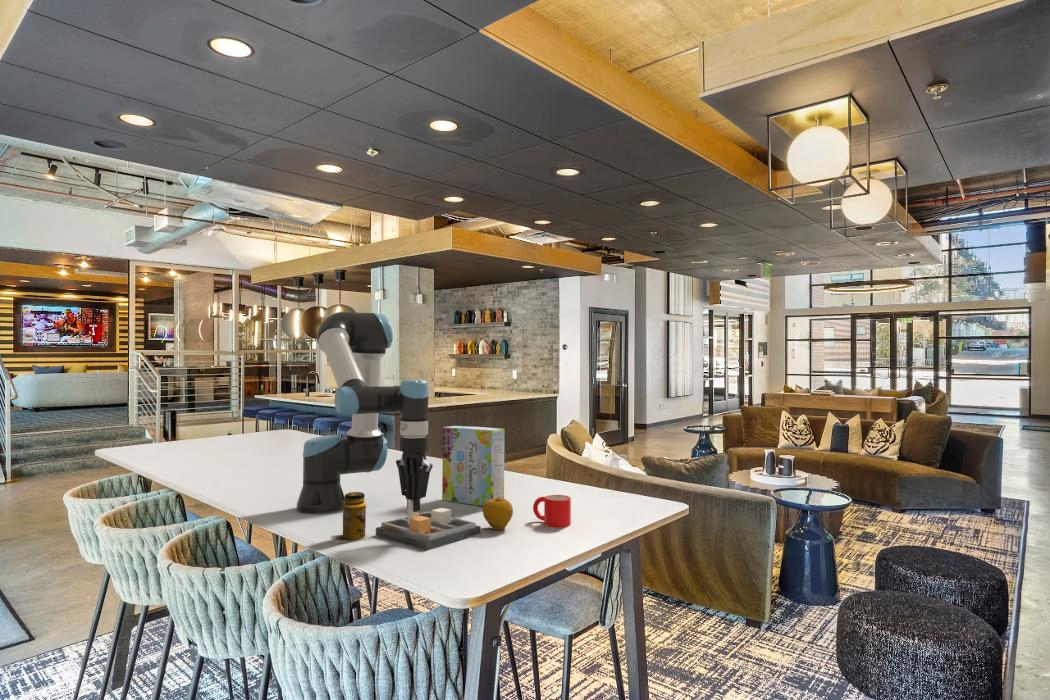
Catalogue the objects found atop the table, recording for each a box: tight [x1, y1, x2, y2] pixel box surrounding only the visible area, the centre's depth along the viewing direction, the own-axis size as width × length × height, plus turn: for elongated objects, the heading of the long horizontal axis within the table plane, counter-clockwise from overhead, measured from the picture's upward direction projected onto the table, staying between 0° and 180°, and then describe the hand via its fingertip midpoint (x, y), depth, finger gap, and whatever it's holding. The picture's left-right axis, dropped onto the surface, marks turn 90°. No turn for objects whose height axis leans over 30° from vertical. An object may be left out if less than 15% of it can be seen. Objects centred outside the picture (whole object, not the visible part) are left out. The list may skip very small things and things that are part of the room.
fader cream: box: [430, 507, 452, 524], centre depth 171 cm, size 4×4×4 cm
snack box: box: [441, 425, 506, 507], centre depth 207 cm, size 22×9×26 cm, turn 58°
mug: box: [532, 494, 572, 529], centre depth 180 cm, size 8×12×8 cm, turn 65°
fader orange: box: [410, 516, 431, 533], centre depth 162 cm, size 4×4×4 cm
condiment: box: [331, 491, 370, 544], centre depth 164 cm, size 7×8×12 cm
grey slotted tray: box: [375, 511, 482, 551], centre depth 167 cm, size 21×20×3 cm
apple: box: [482, 498, 514, 531], centre depth 173 cm, size 9×9×9 cm
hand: (413, 523), depth 163 cm, fingers closed
